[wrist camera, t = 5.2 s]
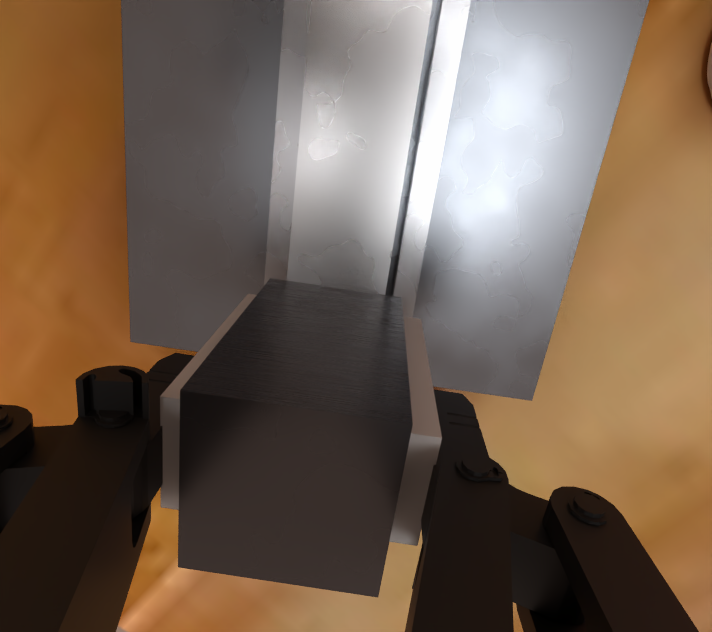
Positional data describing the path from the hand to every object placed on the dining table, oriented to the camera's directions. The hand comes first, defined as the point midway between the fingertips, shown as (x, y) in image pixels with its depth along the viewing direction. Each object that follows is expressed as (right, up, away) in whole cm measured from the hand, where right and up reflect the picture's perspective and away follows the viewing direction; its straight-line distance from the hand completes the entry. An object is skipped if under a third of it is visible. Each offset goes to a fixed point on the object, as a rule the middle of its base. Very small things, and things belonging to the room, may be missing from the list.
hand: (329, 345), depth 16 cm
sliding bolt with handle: (+1, +7, 0) cm, 7 cm away
